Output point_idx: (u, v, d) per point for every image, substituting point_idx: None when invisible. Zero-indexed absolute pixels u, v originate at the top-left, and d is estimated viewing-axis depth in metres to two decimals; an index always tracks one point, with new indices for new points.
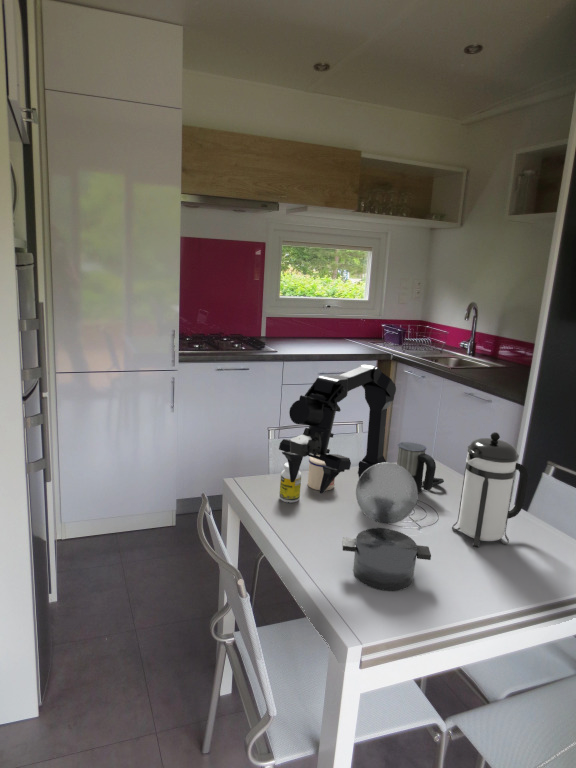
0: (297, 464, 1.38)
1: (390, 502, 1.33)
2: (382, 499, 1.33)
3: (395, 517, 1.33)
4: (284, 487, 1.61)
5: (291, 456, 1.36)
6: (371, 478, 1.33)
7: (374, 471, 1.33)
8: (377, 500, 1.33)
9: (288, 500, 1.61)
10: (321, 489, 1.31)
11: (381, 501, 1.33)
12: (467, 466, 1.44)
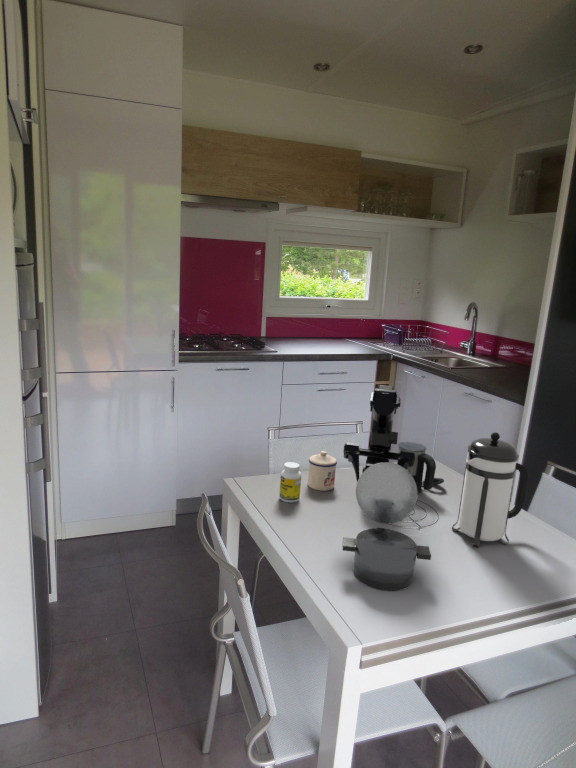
0: None
1: (390, 502, 1.33)
2: (382, 499, 1.33)
3: (395, 517, 1.33)
4: (284, 487, 1.61)
5: None
6: (371, 478, 1.33)
7: (374, 471, 1.33)
8: (377, 500, 1.33)
9: (288, 500, 1.61)
10: None
11: (381, 501, 1.33)
12: (467, 466, 1.44)
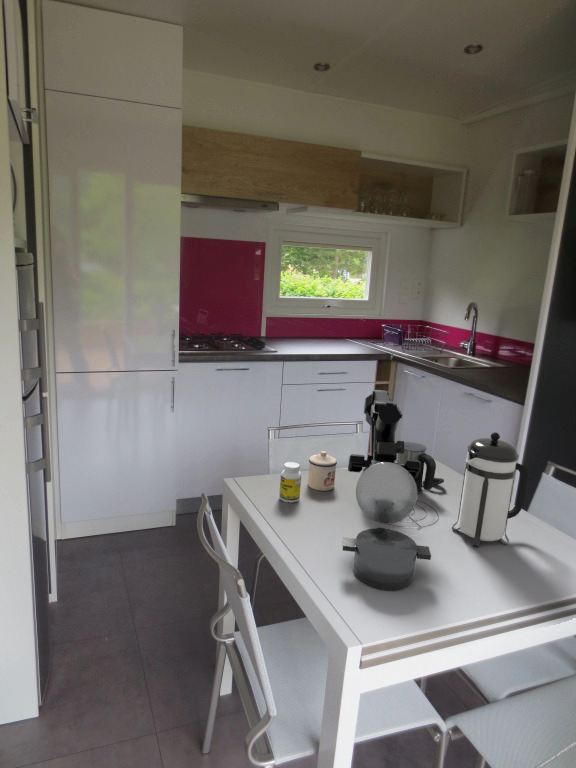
0: None
1: (390, 502, 1.33)
2: (382, 499, 1.33)
3: (395, 517, 1.33)
4: (284, 487, 1.61)
5: None
6: (371, 478, 1.33)
7: (374, 471, 1.33)
8: (377, 500, 1.33)
9: (288, 500, 1.61)
10: None
11: (381, 501, 1.33)
12: (467, 466, 1.44)
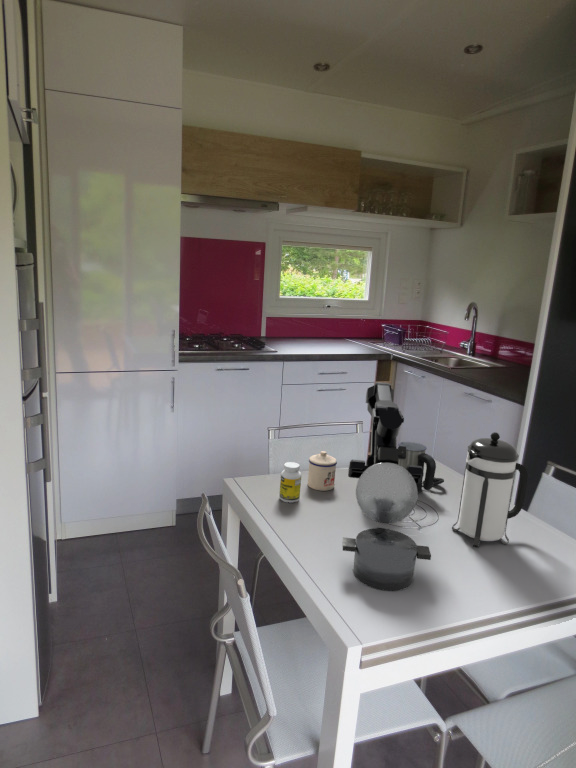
0: None
1: (390, 502, 1.33)
2: (382, 499, 1.33)
3: (395, 517, 1.33)
4: (284, 487, 1.61)
5: None
6: (371, 478, 1.33)
7: (374, 471, 1.33)
8: (377, 500, 1.33)
9: (288, 500, 1.61)
10: None
11: (381, 501, 1.33)
12: (467, 466, 1.44)
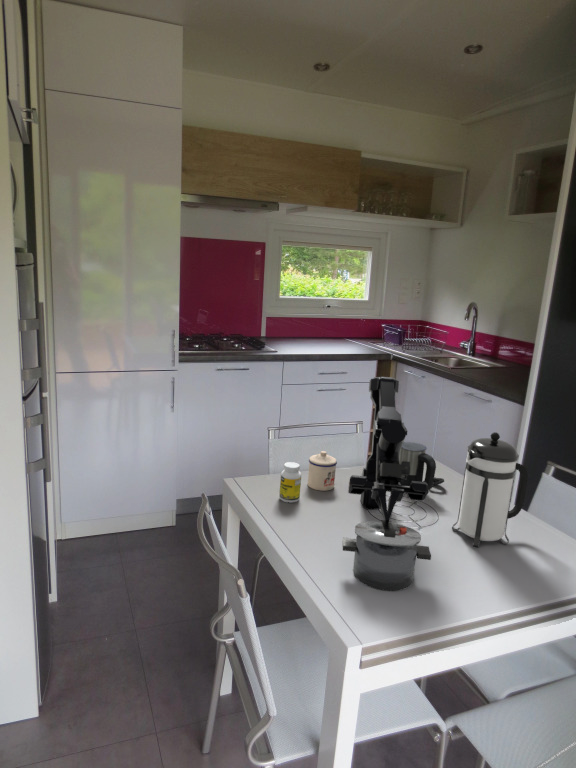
0: None
1: None
2: None
3: None
4: (284, 487, 1.61)
5: (385, 492, 1.29)
6: None
7: None
8: None
9: (288, 500, 1.61)
10: (389, 516, 1.27)
11: None
12: (467, 466, 1.44)
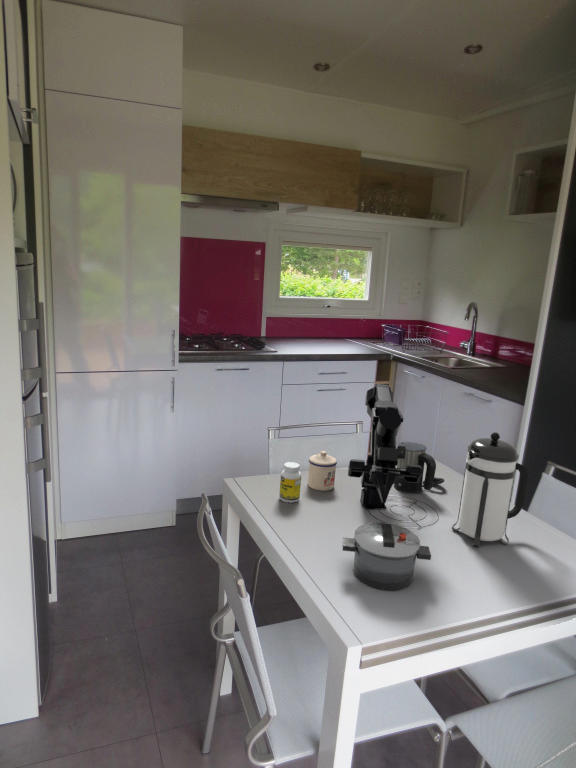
0: None
1: None
2: None
3: None
4: (284, 487, 1.61)
5: (382, 474, 1.38)
6: None
7: None
8: None
9: (288, 500, 1.61)
10: (386, 497, 1.37)
11: None
12: (467, 466, 1.44)
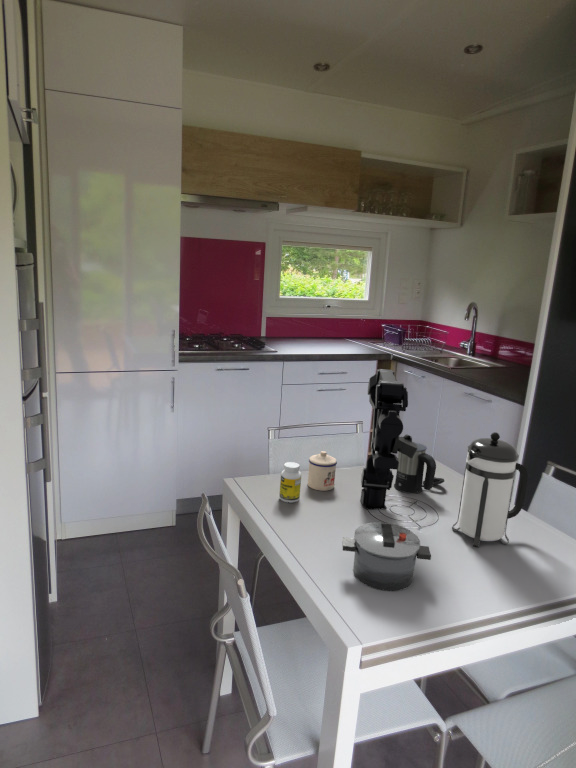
0: None
1: None
2: None
3: None
4: (284, 487, 1.61)
5: None
6: None
7: None
8: None
9: (288, 500, 1.61)
10: None
11: None
12: (467, 466, 1.44)
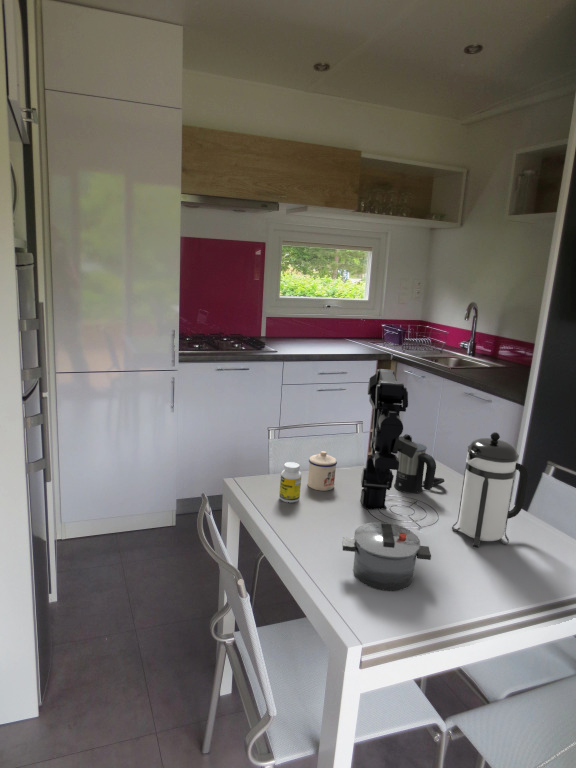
0: None
1: None
2: None
3: None
4: (284, 487, 1.61)
5: None
6: None
7: None
8: None
9: (288, 500, 1.61)
10: None
11: None
12: (467, 466, 1.44)
